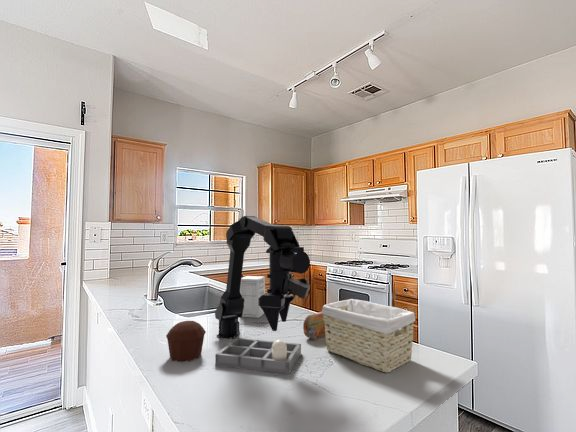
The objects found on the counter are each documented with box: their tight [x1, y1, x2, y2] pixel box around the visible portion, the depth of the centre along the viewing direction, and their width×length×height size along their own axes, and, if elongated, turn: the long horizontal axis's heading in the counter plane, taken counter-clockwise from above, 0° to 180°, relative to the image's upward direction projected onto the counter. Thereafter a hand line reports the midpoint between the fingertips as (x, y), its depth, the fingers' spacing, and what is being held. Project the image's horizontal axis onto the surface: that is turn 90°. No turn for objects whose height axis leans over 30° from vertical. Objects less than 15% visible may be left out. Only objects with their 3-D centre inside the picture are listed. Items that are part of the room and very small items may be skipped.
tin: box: [302, 311, 329, 341], centre depth 116 cm, size 15×3×8 cm, turn 132°
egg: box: [272, 339, 287, 361], centre depth 90 cm, size 4×4×6 cm
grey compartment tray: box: [214, 337, 302, 375], centre depth 95 cm, size 21×15×3 cm
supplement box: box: [240, 275, 266, 319], centre depth 145 cm, size 10×9×17 cm
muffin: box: [166, 320, 207, 363], centre depth 97 cm, size 12×11×10 cm
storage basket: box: [321, 298, 416, 373], centre depth 98 cm, size 24×16×15 cm
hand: (279, 326), depth 90 cm, fingers open, 9 cm apart
